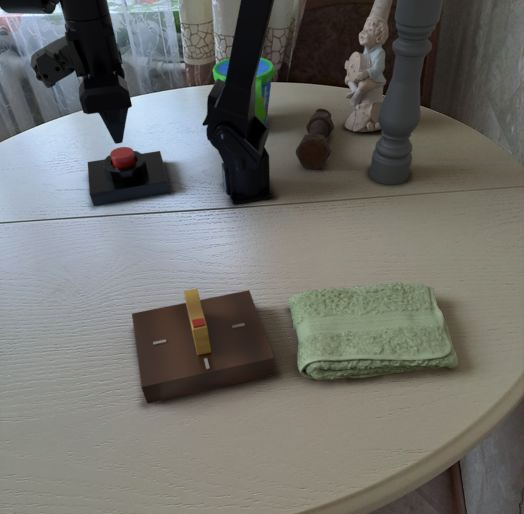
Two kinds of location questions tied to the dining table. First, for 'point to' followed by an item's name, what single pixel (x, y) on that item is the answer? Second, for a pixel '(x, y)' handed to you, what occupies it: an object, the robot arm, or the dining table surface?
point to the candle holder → (404, 90)
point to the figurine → (368, 71)
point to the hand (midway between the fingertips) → (117, 134)
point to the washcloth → (370, 331)
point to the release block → (127, 179)
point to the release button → (123, 157)
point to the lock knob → (197, 322)
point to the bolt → (316, 140)
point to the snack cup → (262, 83)
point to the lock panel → (184, 351)
